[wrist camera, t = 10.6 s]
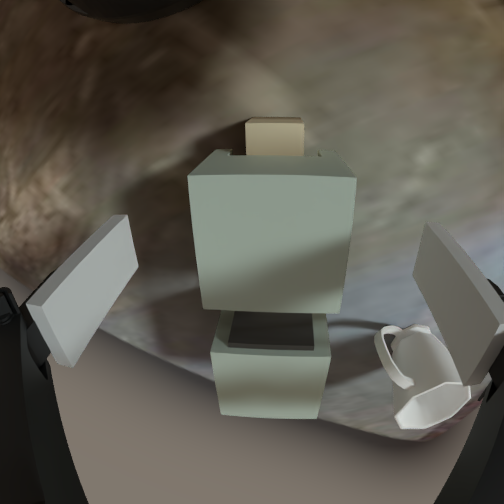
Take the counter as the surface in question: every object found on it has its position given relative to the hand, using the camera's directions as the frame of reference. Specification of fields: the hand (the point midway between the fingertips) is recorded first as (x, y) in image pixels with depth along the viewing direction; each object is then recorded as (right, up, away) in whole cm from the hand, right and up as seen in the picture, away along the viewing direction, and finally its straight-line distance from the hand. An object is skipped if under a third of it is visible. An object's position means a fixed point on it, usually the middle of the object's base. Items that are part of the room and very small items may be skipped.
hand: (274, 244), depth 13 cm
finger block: (0, +3, +6) cm, 7 cm away
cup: (+13, -8, +13) cm, 20 cm away
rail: (+1, 0, +10) cm, 10 cm away
